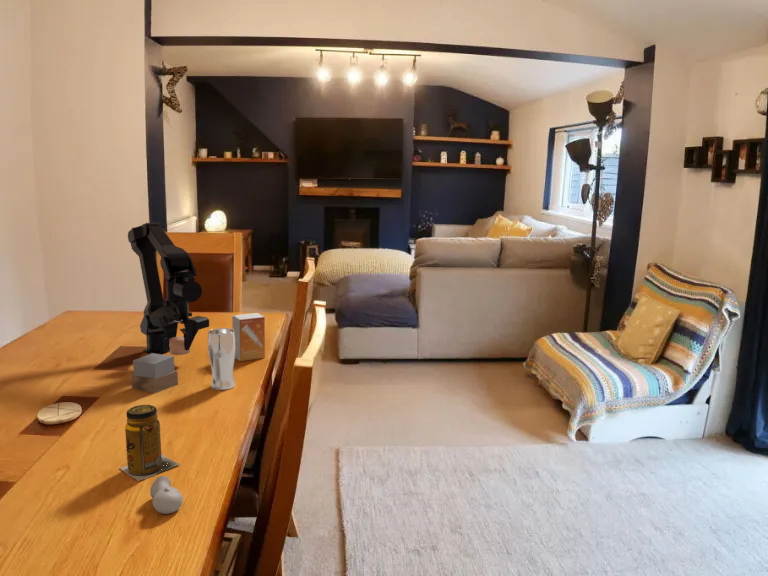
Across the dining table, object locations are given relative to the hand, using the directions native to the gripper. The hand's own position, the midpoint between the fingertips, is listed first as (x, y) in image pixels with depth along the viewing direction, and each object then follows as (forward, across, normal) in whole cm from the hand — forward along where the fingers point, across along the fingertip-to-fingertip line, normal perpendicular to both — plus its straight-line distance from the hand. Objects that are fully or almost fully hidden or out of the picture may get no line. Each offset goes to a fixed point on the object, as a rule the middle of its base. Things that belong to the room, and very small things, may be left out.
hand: (179, 348), depth 173 cm
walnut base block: (+5, +8, -16) cm, 19 cm away
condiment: (+5, +42, -47) cm, 63 cm away
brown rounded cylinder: (+1, 0, 0) cm, 1 cm away
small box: (+5, +12, +16) cm, 21 cm away
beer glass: (+5, +23, -7) cm, 24 cm away
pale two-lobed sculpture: (+5, +55, -55) cm, 78 cm away
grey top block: (+1, +8, -16) cm, 18 cm away
